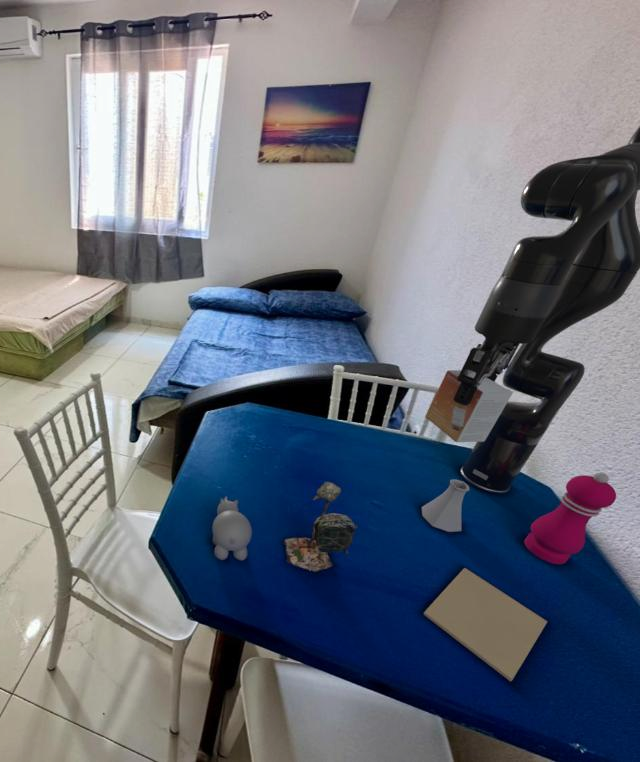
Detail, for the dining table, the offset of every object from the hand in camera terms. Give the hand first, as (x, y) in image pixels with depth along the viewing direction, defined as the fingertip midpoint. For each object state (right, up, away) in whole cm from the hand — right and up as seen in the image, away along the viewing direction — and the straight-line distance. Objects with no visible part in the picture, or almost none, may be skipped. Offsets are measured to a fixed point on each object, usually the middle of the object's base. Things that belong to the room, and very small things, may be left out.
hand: (470, 397), depth 71 cm
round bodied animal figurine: (-41, -29, +10) cm, 51 cm away
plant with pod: (-25, -31, +6) cm, 40 cm away
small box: (0, -6, +4) cm, 7 cm away
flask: (+7, -27, +16) cm, 32 cm away
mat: (-1, -37, -3) cm, 37 cm away
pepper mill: (+22, -31, +9) cm, 40 cm away
